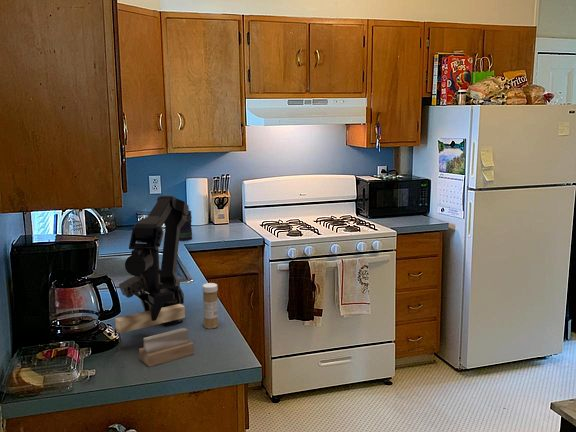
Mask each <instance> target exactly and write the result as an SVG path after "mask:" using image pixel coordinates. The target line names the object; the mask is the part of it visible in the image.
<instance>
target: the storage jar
mask: <svg viewBox="0 0 576 432" xmlns="http://www.w3.org/2000/svg"><path fill="white" fill-rule="evenodd" d="M192 218H193V217H192V211H191V210H189V213H188V215H187V218H186V222H185V224H184V225H183V226H182V227H181V229H180V235H179V242H188V241H192V240H193V230H192Z"/></svg>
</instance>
